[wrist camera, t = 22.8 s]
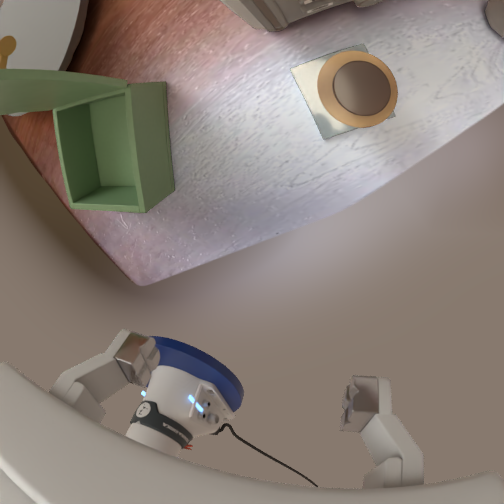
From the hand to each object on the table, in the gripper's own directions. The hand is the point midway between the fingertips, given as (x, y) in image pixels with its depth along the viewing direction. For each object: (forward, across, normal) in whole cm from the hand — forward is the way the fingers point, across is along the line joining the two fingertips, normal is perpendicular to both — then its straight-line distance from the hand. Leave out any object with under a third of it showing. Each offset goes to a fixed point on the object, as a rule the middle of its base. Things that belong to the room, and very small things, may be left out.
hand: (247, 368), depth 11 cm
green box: (+23, +22, -4) cm, 32 cm away
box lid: (+9, +22, -12) cm, 26 cm away
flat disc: (+24, +39, -26) cm, 52 cm away
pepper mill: (+23, -4, -10) cm, 25 cm away
